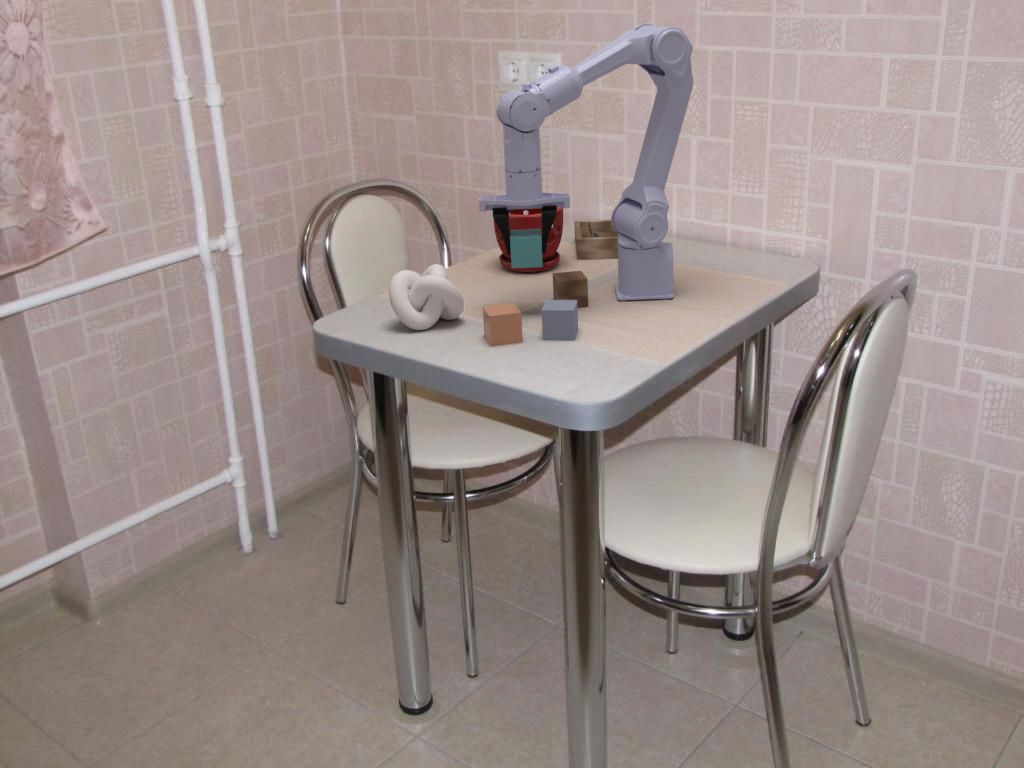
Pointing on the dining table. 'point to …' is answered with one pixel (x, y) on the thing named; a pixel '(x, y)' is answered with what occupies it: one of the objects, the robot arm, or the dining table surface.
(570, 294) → the walnut block
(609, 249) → the wooden compartment box
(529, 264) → the teal block
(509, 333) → the terracotta block
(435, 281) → the white knot sculpture
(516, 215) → the plant pot
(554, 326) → the slate-blue block
